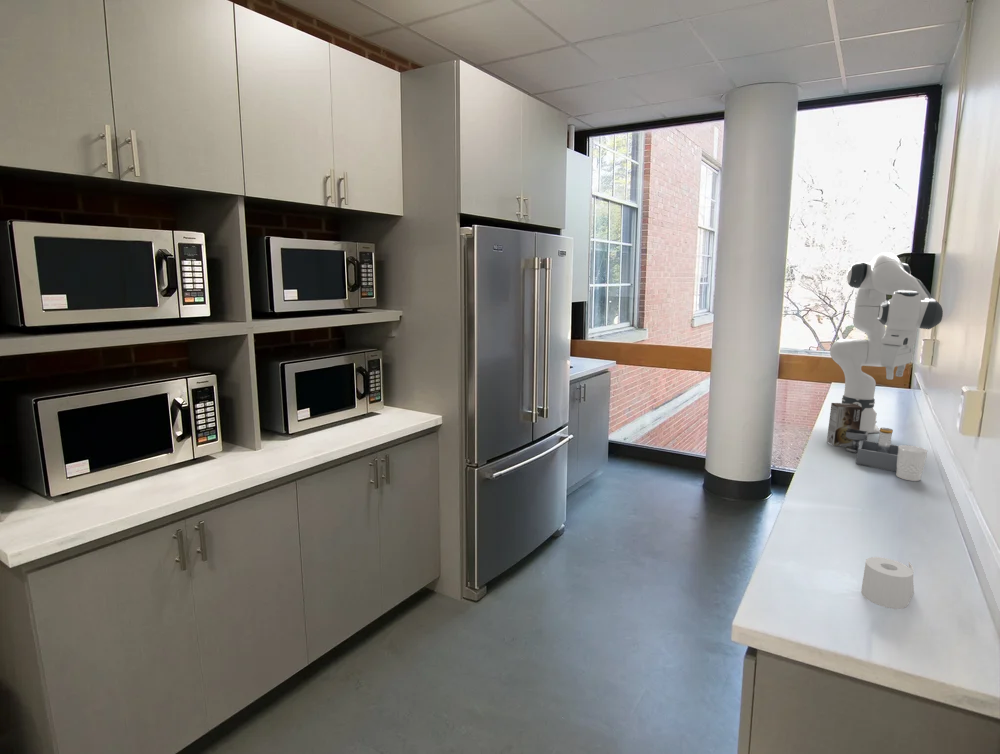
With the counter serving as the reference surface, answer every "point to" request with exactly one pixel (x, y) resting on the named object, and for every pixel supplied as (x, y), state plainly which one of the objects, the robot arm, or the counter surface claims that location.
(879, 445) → the gold-capped metal cylinder
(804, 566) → the counter surface
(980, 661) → the counter surface
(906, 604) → the toilet paper
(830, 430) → the coffee box
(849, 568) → the counter surface
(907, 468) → the white cup
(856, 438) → the grey capsule holder
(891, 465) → the bin
